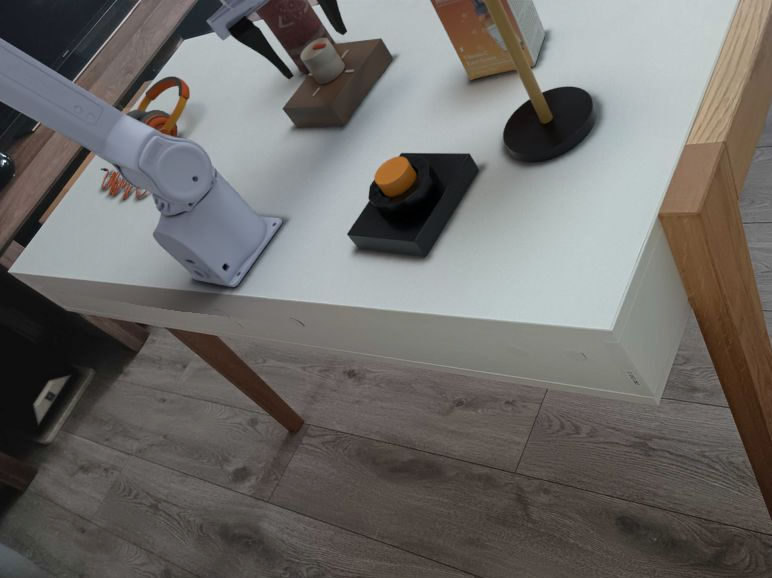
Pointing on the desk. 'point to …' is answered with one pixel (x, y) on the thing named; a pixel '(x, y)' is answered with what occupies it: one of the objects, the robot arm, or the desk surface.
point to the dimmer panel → (339, 86)
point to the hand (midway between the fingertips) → (315, 53)
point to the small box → (489, 34)
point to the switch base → (415, 205)
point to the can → (294, 26)
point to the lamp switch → (395, 176)
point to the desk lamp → (541, 107)
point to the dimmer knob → (322, 60)
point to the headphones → (154, 120)
